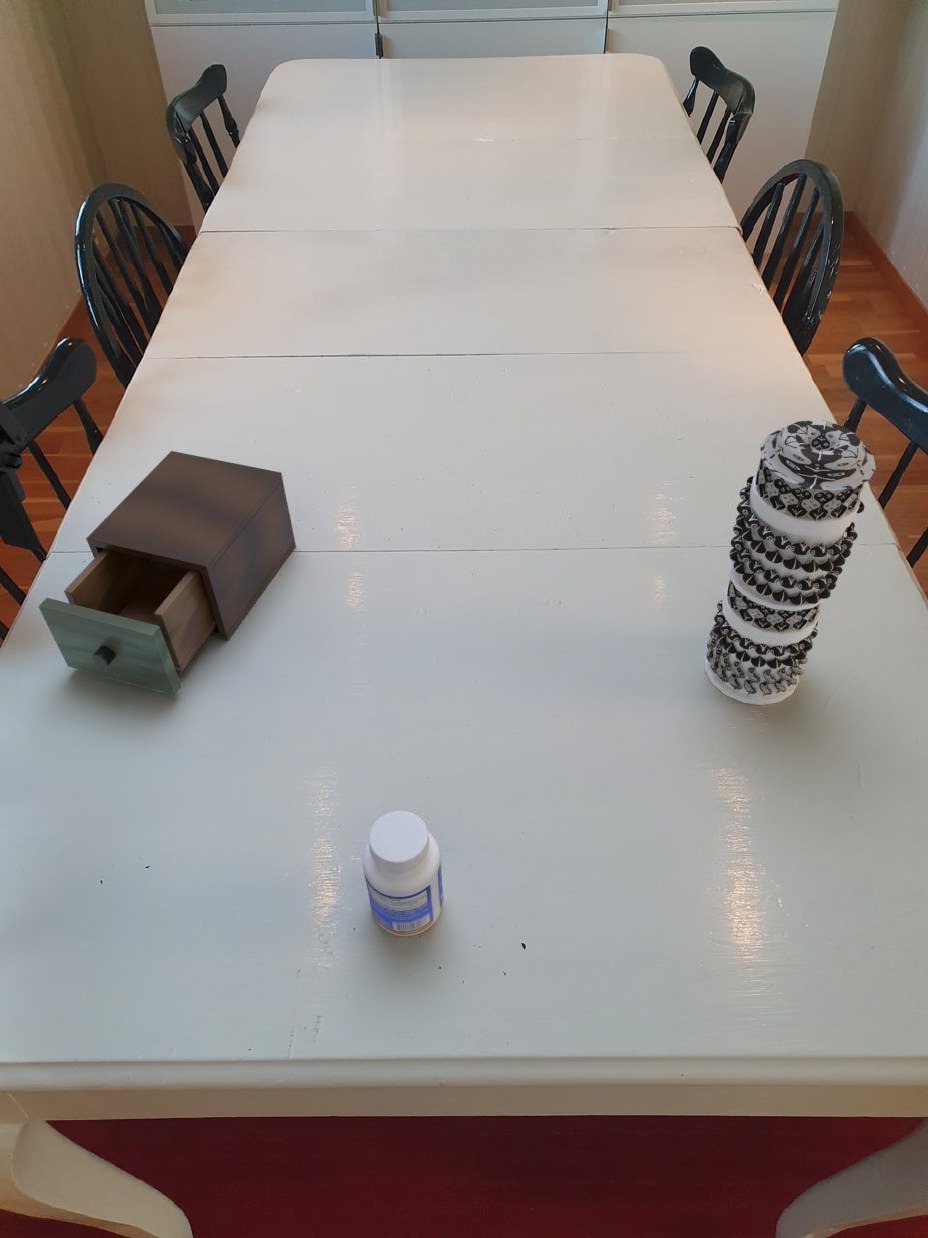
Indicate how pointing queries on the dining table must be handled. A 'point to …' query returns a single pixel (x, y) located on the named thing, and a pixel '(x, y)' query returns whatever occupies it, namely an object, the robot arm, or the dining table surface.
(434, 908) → the pill bottle
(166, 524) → the cabinet
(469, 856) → the dining table surface
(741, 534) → the decorative candle
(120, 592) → the drawer
